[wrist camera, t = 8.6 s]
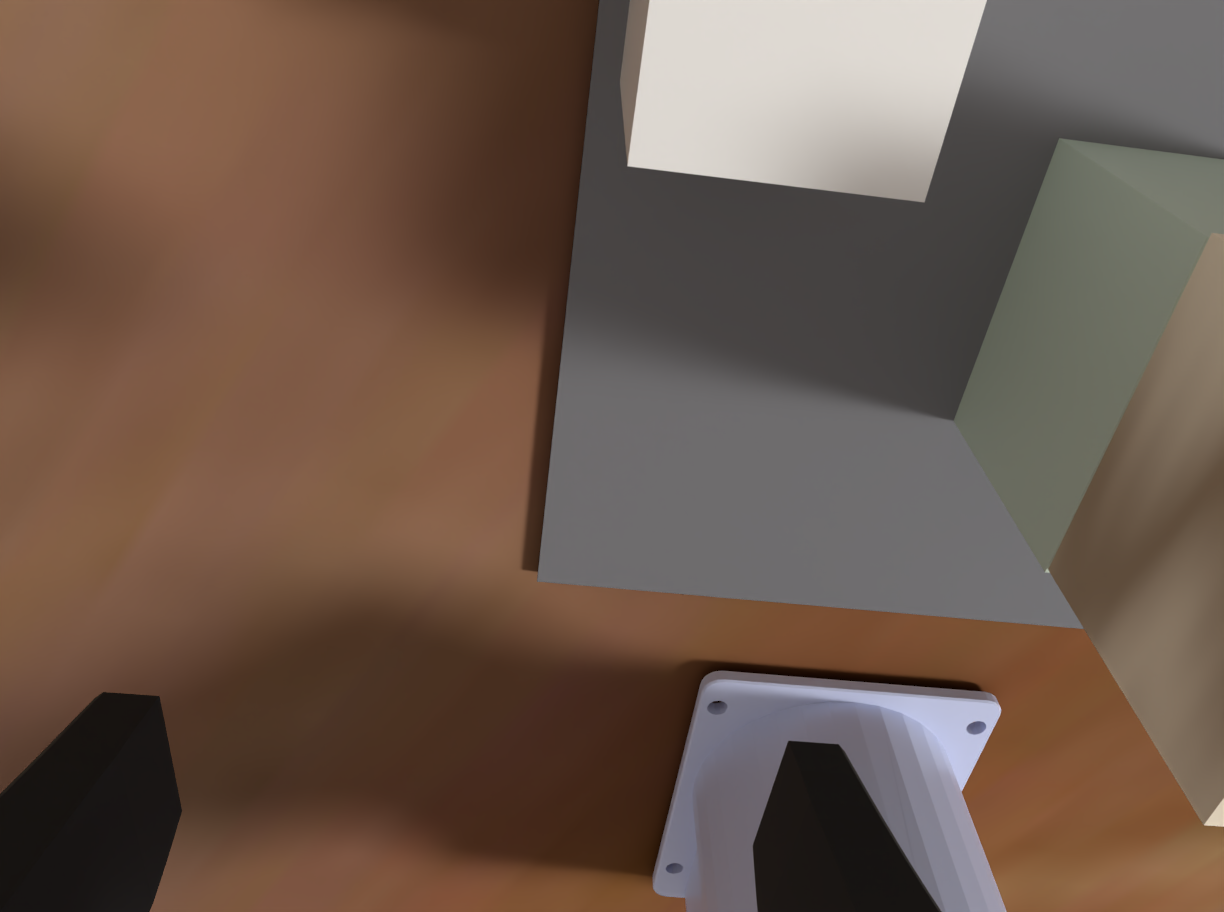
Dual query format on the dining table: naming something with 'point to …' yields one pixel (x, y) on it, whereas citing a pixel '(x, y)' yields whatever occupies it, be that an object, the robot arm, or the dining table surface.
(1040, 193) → the sage block
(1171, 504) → the maple block
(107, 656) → the dining table surface
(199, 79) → the dining table surface
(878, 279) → the mat
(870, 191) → the white block
